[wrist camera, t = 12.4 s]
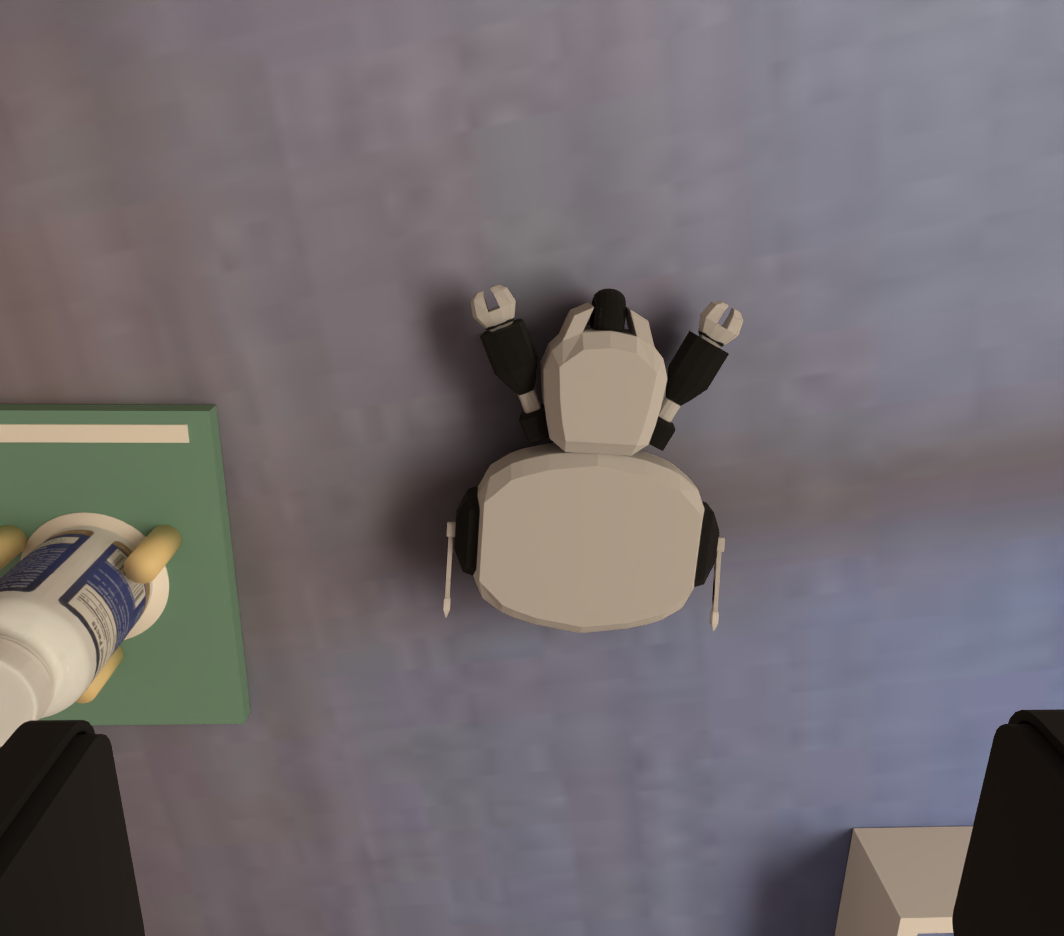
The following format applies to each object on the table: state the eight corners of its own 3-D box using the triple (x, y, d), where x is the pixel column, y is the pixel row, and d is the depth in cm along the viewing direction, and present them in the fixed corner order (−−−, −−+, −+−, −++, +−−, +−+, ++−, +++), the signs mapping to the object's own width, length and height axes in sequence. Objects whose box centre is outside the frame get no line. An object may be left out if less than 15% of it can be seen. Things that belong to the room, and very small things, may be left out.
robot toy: (462, 273, 38) (445, 591, 42) (458, 280, 34) (440, 634, 38) (739, 294, 39) (696, 604, 43) (770, 303, 34) (720, 648, 38)
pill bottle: (23, 605, 40) (-115, 738, 31) (50, 505, 39) (-88, 615, 30) (139, 643, 41) (38, 783, 32) (170, 547, 40) (72, 666, 30)
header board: (-64, 403, 38) (-125, 431, 34) (216, 404, 39) (185, 432, 35) (6, 713, 44) (-40, 767, 40) (250, 711, 44) (227, 763, 40)
